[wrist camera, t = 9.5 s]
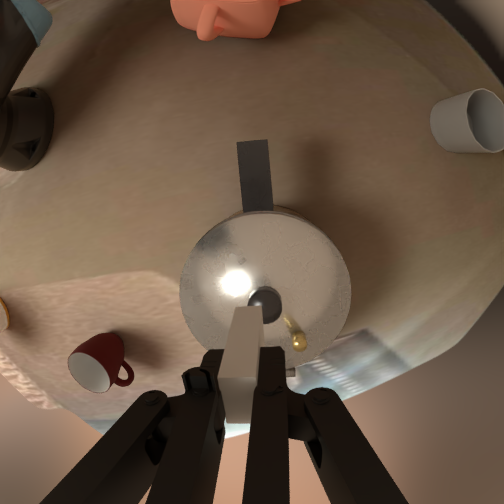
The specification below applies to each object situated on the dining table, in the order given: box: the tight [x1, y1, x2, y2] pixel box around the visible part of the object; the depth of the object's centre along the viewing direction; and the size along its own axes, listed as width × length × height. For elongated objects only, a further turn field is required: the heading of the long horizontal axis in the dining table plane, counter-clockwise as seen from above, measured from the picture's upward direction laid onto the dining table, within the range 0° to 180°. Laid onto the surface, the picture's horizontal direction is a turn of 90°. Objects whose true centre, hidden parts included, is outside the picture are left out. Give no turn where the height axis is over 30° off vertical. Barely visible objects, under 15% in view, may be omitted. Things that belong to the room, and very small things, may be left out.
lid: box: [179, 212, 351, 377], centre depth 33 cm, size 20×19×3 cm
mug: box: [68, 333, 134, 393], centre depth 45 cm, size 10×8×10 cm
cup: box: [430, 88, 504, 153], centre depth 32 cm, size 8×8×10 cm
